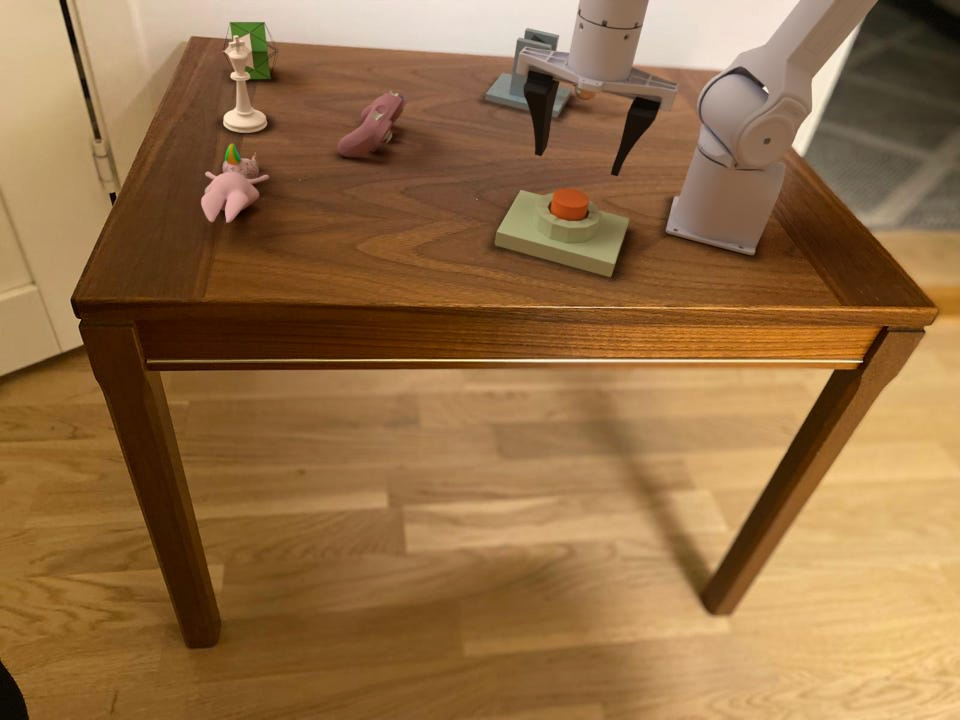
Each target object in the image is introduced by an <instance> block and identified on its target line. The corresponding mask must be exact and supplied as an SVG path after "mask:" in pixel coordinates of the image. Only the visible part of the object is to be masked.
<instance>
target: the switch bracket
mask: <svg viewBox="0 0 960 720" xmlns="http://www.w3.org/2000/svg"><path fill="white" fill-rule="evenodd" d="M534 35H535V36H537V37H538V38H539V39H541V40H542V41H543V42H545V43H546V44H545V43H541V42H536V41H532V40H530V39H531V38H532V37H533V36H534ZM559 38H560V35H559V34H555V33H551V32H547V31H542V30H538V29H533V28H529V27H527V28H526V29H525V30H524V35H523V37H518V38H517V39H516V44H515V50H514V57H513V65H512V72H511V74H510V73H506V72H502V73H501V74H500V76H499V77H498V78H497V79H496V80H495V82H494V83H493V84H492V85H491V86H490V88H489V89H488V90H487V91H486V93H485V95H484V96H485V97H484V100H485V101H489V102H493V103H496V104H501V105H505V106H509V107H512V108H517V109H521V110H525V111H529V112H530V110H529V107H528V104H527V101H526V99H525V96H524V90H523V88H524V84H525V83H526V81H527V78H528V76H523V75H519V74H517V73H516V72H517V65H518V58H519V53H520V52H521V51H522V49H523V48H524V47H525V46H526V47H530V48H535V49H542V50H550V51H557V50H558V45H559ZM571 95H572V88H568V87H565V86H561V85H559V86H558V90H557V94H556V98H555V103H554V107H553V111H552V118H559V116H560V114H561V112H562V111H563V109H564V107H565V106H566V103H567V102H568V100H569V99H570V97H571Z"/></svg>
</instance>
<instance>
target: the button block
mask: <svg viewBox="0 0 960 720" xmlns="http://www.w3.org/2000/svg"><path fill="white" fill-rule="evenodd" d="M553 194H554V192H550V193H547V194H545V195H542V194H538V193H535V192H531V191H528V190H527V191H526V190H523V189H520V190H519V192H518V194H517V196H516V197H515V199H514V200H513V203H512V204H511V206H510V208H509V210H508V211H507V213H506V215H505V216H504V218H503V220H502V222H501V223H500V225H499V227H498V228H497V230H496V234H495V239H494V246H496V247H499V248H504V249H507V250H510V251H515V252H518V253H521V254H525V255H529V256H532V257H536V258H540V259H542V260H547V261H550V262H554V263H557V264H561V265H563V266H564V265H565V266H568V267H571V268H576V269H579V270H583V271H586V272H590V273H593V274H596V275H597V274H598V275H601V276H605V277H608V278H612V275H613V272H614V270H615V267H616V263H617V260H618V257H619V254H620V251H621V248H622V245H623V242H624V239H625V235H626V232H627V229H628V225H629V223H630V218H629V217H625V216H622V215H618V214H615V213H610V212H607V211H603V210H600V209H599V207H598V205H597V204H596V203H594V201H591V200H590V199H589V204H588V208H587V212H586V216H585V218H584V219H583V220H581V221H567V220H563V219H559V218H557V217H556V216H554V215H553V214H552V213H551V211H550V208H551V203H552V199H553Z"/></svg>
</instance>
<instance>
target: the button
mask: <svg viewBox="0 0 960 720" xmlns="http://www.w3.org/2000/svg"><path fill="white" fill-rule="evenodd" d="M553 193H554V194H553V199H552V203H551V208H550V211H551V213H552V214H553V215H554V216H556V217H557V218H559V219H563V220H567V221H581V220H583V219H584V218H585V216H586V212H587V208H588V204H589V200H590V198H589V197H588V196H587V194H586V193H584V192H583V191H580V190H579V189H574V188H570V187H565V188H564V187H563V188H559V189H556V190H555V191H554V192H553Z"/></svg>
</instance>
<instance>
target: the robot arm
mask: <svg viewBox="0 0 960 720" xmlns="http://www.w3.org/2000/svg"><path fill="white" fill-rule="evenodd" d="M878 1H879V0H799V1H798V2H797V3H796V5H795V6H794V7H793V8H792V10H790V12H789V13H788V15H787V16H786V18H784V20H783V21H782V23H781V24H780V25H779V26H778V28H777V29H776V30H775V31H774V33H773V34H772V35H771V37H770V38H769V39H768V40H767V41H766V43H765V44H763V45H761V46H758V47H755V48H752V49H751V48H750V49H748V50H746V51H742V52H739V54H738V55H737V56H736V58H735V59H734V60H733V61H732V62H731V64H730V65H729V66H727V67H726V68H725V69H723V71H721V72H719V73H718V74H716V75H715V76H713V77H712V78H711V79H709V81H708V82H707V83H706V84H705V85H704V87H703V88H702V90H701V91H700V93H699V95H698V97H697V102H696V114H697V118H698V119H699V121H700V122H701V126H700V130H699V133H698V135H699V138H698V140H697V143H696V146H695V150H694V153H693V155H692V158H691V161H690V164H689V168H688V171H687V174H686V177H685V179H684V182H683V184H682V188H681V191H680V193H679V195H678V196H677V195H675V196H674V197H673V199H672V200H673V201H672V204H671V208H670V212H669V216H668V219H667V224H666V228H665V232H666V233H667V234H669V235H671V236H675V237H679V238H683V239H687V240H689V241H690V240H691V241H693V242H698V243H701V244H704V245H705V244H706V245H709V246H713V247H716V248H720V249H723V250H728V251H731V252H736V253H740V254H743V255H748V256H754V255H755V254H756V249H757V246H758V244H759V242H760V239H761V237H762V235H763V232H764V230H765V228H766V226H767V224H768V221H769V219H770V217H771V214H772V212H773V210H774V207H775V205H776V203H777V200H778V198H779V195H780V193H781V189H782V187H783V184H784V179H785V176H786V170H787V165H786V164H785V163H783V162H781V161H779V160H780V159H781V158H783V156H785V154H786V153H788V151H789V150H790V148H791V147H792V145H793V143H794V142H795V140H796V137H797V134H798V132H799V130H800V128H801V126H802V124H803V123H804V122H805V120H806V119H807V118H808V117H809V116H810V115H811V113H812V111H813V85H812V84H813V79H814V77H816V76H817V74H818V73H819V72H820V71H821V69H822V68H823V67H824V66H825V65H826V63H827V62H828V61H829V60H830V59H831V57H832V56H833V55H834V54H835V52H836V51H837V50H838V49H839V48H840V47H841V45H842V44H843V43H844V42H845V41H846V39H847V38H848V37H849V36H850V35H851V33H852V32H853V31H854V30H855V29H856V27H857V26H858V25H859V24H860V23H861V22H862V20H863V19H865V17H866V16H867V15H868V13H869V12H870V11H871V10H872V9H873V8H874V7H875V5H876V3H878ZM649 2H650V0H579V1H578V7H577V13H576V18H575V22H574V28H573V33H572V38H571V43H570V48H569V51H568V52H566V51H559V50H558V51H550V50H542V49H535V48H530V47H526V46H525V47H524V48H523V49H522V51H521V52H520V53H519V58H518V65H517V72H516V73H517V74H519V75H523V76H528V78H527V81H526V83H525V84H524V88H523V90H524V96H525V99H526V101H527V104H528V107H529V110H530V111H529V110H528V111H529V114H530V118H531V121H532V122H531V123H532V128H533V137H534V155H535V156H539V157H542V156H543V154H544V153H545V151H546V149H547V147H548V143H549V140H550V132H551V125H552V118H553V116H552V111H553V107H554V103H555V98H556V94H557V90H558V86H560V83H564V84H569V85H572V86H574V85H576V86H578V88H579V89H582V90H586V91H590V92H594V93H596V94H599V93H605V94H609V95H611V96H612V95H613V96H617V97H620V98H626V99H628V100H632V102H631V104H630V106H629V109H628V111H627V114H626V118H625V123H624V127H623V132H622V136H621V139H620V143H619V147H618V150H617V152H616V156H615V158H614V161H613V165H612V167H611V171H610V176H614V177H618V176H619V174H620V172H621V170H622V167H623V165H624V162H625V160H626V159H627V157H628V155H630V152H631V150H633V148H634V146H635V145H636V143H638V141H639V140H640V139H641V138H642V136H643V135H644V134H645V133H646V132H647V130H649V128H650V127H651V126H652V124H654V122H655V121H656V118H657V116H658V114H659V111H660V110H661V111H665V112H672V109H673V106H674V104H675V101H676V97H677V94H678V90H679V87H680V83H679V82H675V81H671V80H668V79H665V78H662V77H659V76H656V75H654V74H651V73H649V72H646V71H645V70H641V69H638V68H636V67H634V66H633V65H634V61H635V57H636V54H637V49H638V46H639V42H640V37H641V34H642V30H643V25H644V21H645V19H646V14H647V10H648V6H649ZM764 88H766V89H767V91H766V90H765V89H764Z"/></svg>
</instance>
